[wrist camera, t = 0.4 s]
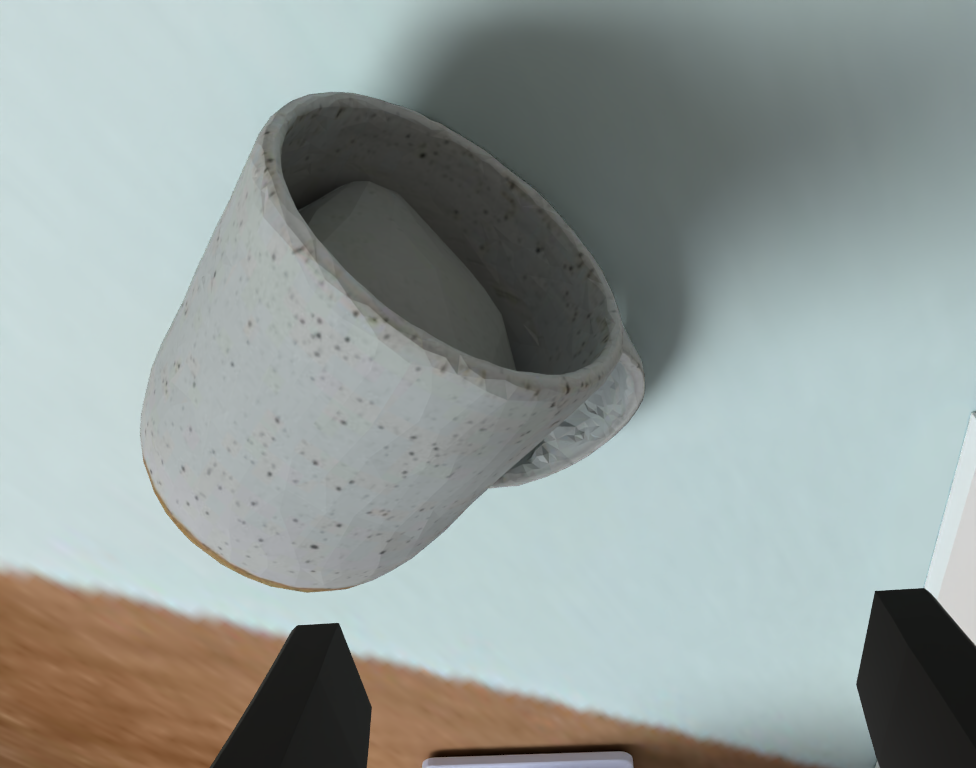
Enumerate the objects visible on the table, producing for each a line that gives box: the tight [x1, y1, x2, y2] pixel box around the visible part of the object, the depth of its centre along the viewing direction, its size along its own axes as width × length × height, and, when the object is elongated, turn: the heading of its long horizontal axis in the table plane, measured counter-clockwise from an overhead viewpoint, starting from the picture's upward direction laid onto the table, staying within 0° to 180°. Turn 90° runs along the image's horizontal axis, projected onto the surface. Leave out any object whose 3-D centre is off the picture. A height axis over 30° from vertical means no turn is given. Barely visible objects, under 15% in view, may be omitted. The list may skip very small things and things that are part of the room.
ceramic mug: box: [140, 92, 645, 593], centre depth 17 cm, size 10×8×7 cm
